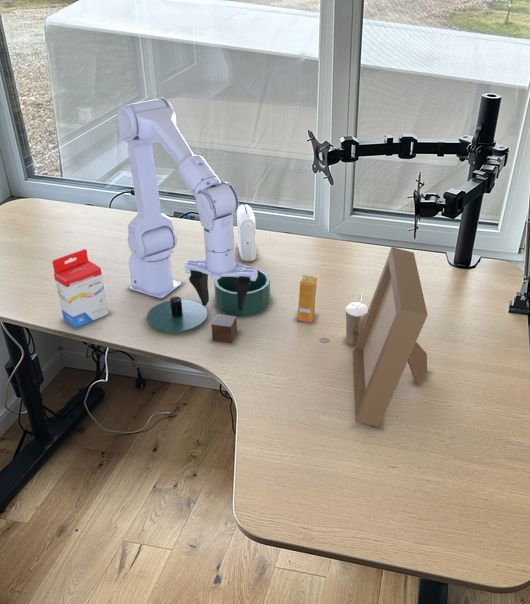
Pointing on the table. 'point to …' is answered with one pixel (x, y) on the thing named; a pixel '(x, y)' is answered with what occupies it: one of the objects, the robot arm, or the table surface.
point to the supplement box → (307, 298)
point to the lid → (177, 316)
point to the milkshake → (355, 320)
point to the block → (224, 328)
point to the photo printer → (246, 233)
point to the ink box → (79, 289)
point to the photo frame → (389, 337)
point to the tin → (254, 299)
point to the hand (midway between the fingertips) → (223, 305)
